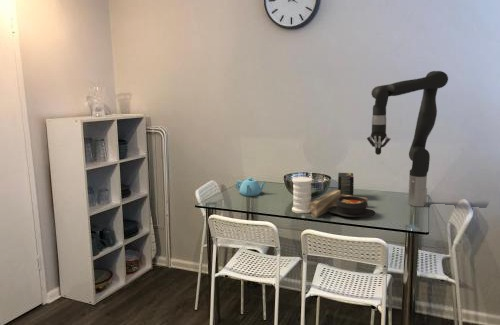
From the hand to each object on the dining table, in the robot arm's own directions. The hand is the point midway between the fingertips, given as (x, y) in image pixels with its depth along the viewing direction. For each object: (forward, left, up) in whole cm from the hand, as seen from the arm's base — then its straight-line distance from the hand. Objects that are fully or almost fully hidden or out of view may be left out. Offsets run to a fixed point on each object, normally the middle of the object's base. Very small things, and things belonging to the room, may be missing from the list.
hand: (378, 154), depth 230 cm
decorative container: (+32, +28, -30) cm, 53 cm away
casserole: (+6, +21, -31) cm, 37 cm away
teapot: (+77, +16, -31) cm, 85 cm away
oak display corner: (+13, +19, -30) cm, 38 cm away
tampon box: (+22, -8, -31) cm, 38 cm away
